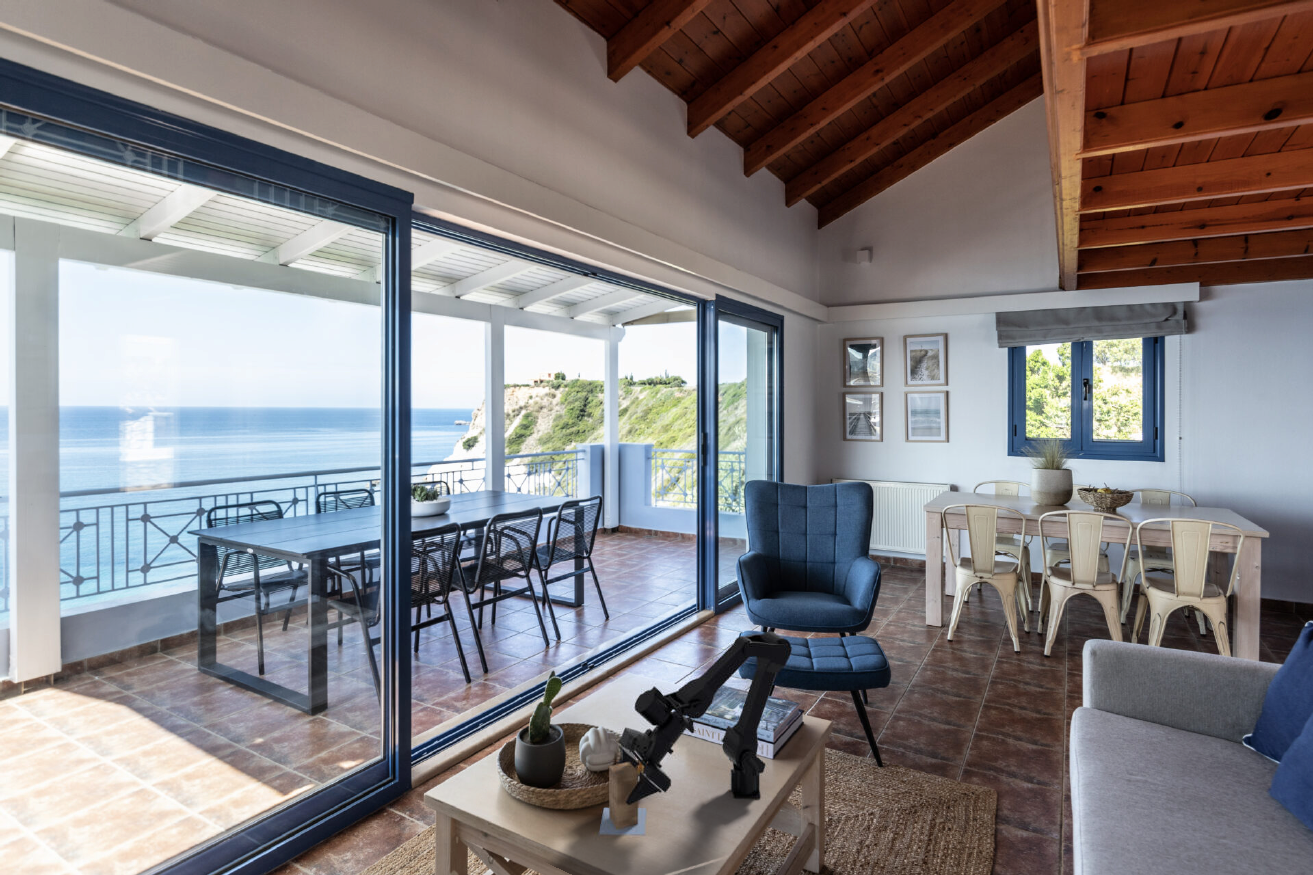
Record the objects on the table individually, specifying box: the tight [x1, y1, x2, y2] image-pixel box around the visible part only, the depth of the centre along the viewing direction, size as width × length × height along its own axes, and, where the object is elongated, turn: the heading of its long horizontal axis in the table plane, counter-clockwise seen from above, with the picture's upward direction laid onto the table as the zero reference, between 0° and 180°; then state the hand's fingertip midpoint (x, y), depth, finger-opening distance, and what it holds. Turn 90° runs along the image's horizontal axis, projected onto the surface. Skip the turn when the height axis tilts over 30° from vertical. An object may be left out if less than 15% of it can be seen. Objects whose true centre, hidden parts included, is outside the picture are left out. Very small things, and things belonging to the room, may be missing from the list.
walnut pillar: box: [608, 762, 639, 830], centre depth 157 cm, size 5×5×12 cm
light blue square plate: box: [598, 807, 648, 836], centre depth 158 cm, size 10×10×1 cm
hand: (619, 792), depth 157 cm, fingers open, 9 cm apart
